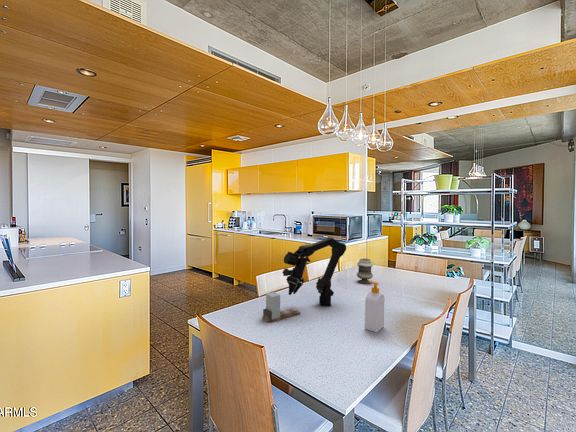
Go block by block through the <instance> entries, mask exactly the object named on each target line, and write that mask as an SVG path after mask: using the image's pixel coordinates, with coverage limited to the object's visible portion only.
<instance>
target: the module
mask: <svg viewBox="0 0 576 432" xmlns="http://www.w3.org/2000/svg"><path fill="white" fill-rule="evenodd" d="M265 309H267V310H269V311H271V312H272V320H273V319H277V318H280V312H281V294H280V293H277V292H275V291H274V292H273V291H272V292H268V293H266V294H265Z"/></svg>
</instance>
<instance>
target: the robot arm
mask: <svg viewBox="0 0 576 432" xmlns="http://www.w3.org/2000/svg"><path fill="white" fill-rule="evenodd" d="M328 246H329V247H330V248H331V255H330V259H329V262H328V264H327V266H326V268H325V270H324V271H325V272H324V274H323V275H322V277H321V278H320V277H318V278H317V282H316V283H315V284H316V286H315V288H316V290H317V293H318V294H319V298H318V299H319V301H318V304H319V306H320V307H332V297H333V296H334V293H335V292H334V291H333V289H331V287H332V279H333V278H332V277H333V275H334V273H335V271H336V268H337V265H338V263H339V260H340V259H341V257H342V256H344V255H345V253H346V250H347V246H346V244H345V243H343V242H340V241H338V240H337V239H334V238H332V237H326V238H324V239H321V240H319V241H316V242H314V243H311V244H302V245H300V246H298V249H296V250H295V251H294V252H291V251H287V253H286V254H285V256H284V258H283V263H284V264H286V265H290V266H294V267H293V268H292V269H289V268H284V269H283V270H282V275H283V277H286V283H288V295H289V296H292V294H293V295H295V294H296V293H297V292H298V291H299V290H300V289H301V288H302V286H303V285H304V284H305V282H306V280H305V277H303V276H304V273H305V272H306V270H305V268H306V266H307V262H308V263H310V262H311V260H310V258H309V257H311V256H312V255H313V254H315V252H317V251H319V250H321V249H324V248H327V247H328Z"/></svg>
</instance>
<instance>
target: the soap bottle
mask: <svg viewBox="0 0 576 432" xmlns="http://www.w3.org/2000/svg"><path fill="white" fill-rule="evenodd" d="M369 281H370V280H369ZM370 282H371V283H372V284H373V287H371V291H368V293H366V296H365V301H364V329H365V330H368V331H371V332H375V333H378V332H380V330H381V328H382V327H383V328H384V326H385V295H384V294H383V293H380V288H379V287H378V285H380V282H378V281H373V280H371V281H370ZM370 282H368V283H370ZM371 283H370V284H371Z"/></svg>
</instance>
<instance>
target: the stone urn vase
mask: <svg viewBox="0 0 576 432" xmlns="http://www.w3.org/2000/svg"><path fill="white" fill-rule="evenodd" d="M356 265H357V267H358V272H357V273H356V276H357V278H359V280H357V282H358V283H359V284H364V285H370V284H371V282H370V280H371V279H372V278H373V276H374V274H373V273H372V267H373V266H374V264H373V262H372V260H371V259H370V258H365V257H364V258H360V259H359V260H358V262H357V264H356ZM368 282H370V283H368Z"/></svg>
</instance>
